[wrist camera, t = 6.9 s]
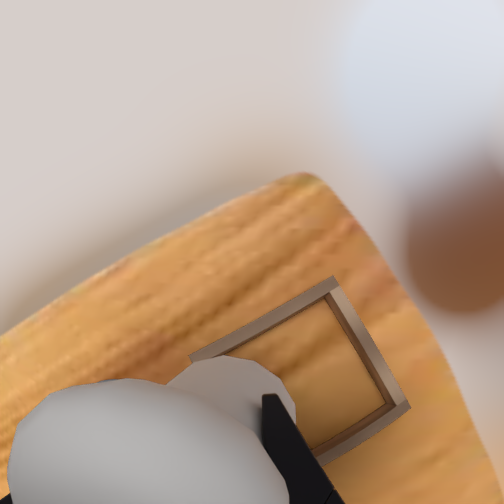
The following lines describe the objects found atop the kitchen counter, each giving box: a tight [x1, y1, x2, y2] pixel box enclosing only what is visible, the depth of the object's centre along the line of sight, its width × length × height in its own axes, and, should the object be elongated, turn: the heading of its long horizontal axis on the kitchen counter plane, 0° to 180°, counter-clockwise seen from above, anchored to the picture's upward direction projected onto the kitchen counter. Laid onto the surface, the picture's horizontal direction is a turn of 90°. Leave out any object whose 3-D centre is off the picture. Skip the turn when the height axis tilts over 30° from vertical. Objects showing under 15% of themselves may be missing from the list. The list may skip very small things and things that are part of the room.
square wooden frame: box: [188, 276, 411, 467], centre depth 19 cm, size 11×11×2 cm
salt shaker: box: [7, 355, 296, 504], centre depth 8 cm, size 6×6×13 cm
